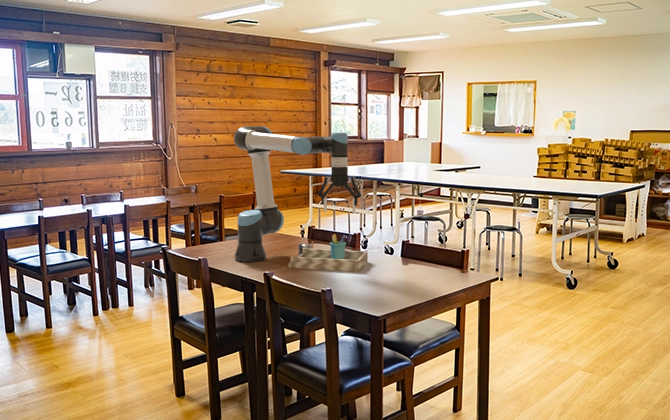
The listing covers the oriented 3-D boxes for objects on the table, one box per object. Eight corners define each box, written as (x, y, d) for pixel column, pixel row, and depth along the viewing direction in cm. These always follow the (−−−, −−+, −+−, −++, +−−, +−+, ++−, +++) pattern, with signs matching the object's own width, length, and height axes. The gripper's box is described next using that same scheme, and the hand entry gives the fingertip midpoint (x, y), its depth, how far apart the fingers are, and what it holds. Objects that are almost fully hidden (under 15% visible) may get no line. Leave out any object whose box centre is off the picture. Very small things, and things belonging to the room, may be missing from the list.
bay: (288, 267, 290) (288, 256, 289) (300, 258, 309) (300, 248, 308) (359, 271, 282) (359, 260, 281) (367, 261, 301) (367, 251, 301)
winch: (298, 256, 313) (297, 241, 312) (300, 254, 318) (300, 239, 317) (311, 257, 311) (311, 242, 310) (314, 255, 316) (314, 240, 315)
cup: (354, 266, 291) (355, 235, 289) (341, 269, 286) (341, 237, 284) (336, 261, 302) (336, 230, 300) (323, 263, 298) (323, 232, 295)
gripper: (311, 166, 287) (311, 212, 290) (364, 167, 281) (364, 214, 284) (315, 165, 294) (315, 210, 297) (367, 166, 288) (367, 211, 291)
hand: (339, 212), depth 291 cm, fingers open, 13 cm apart
